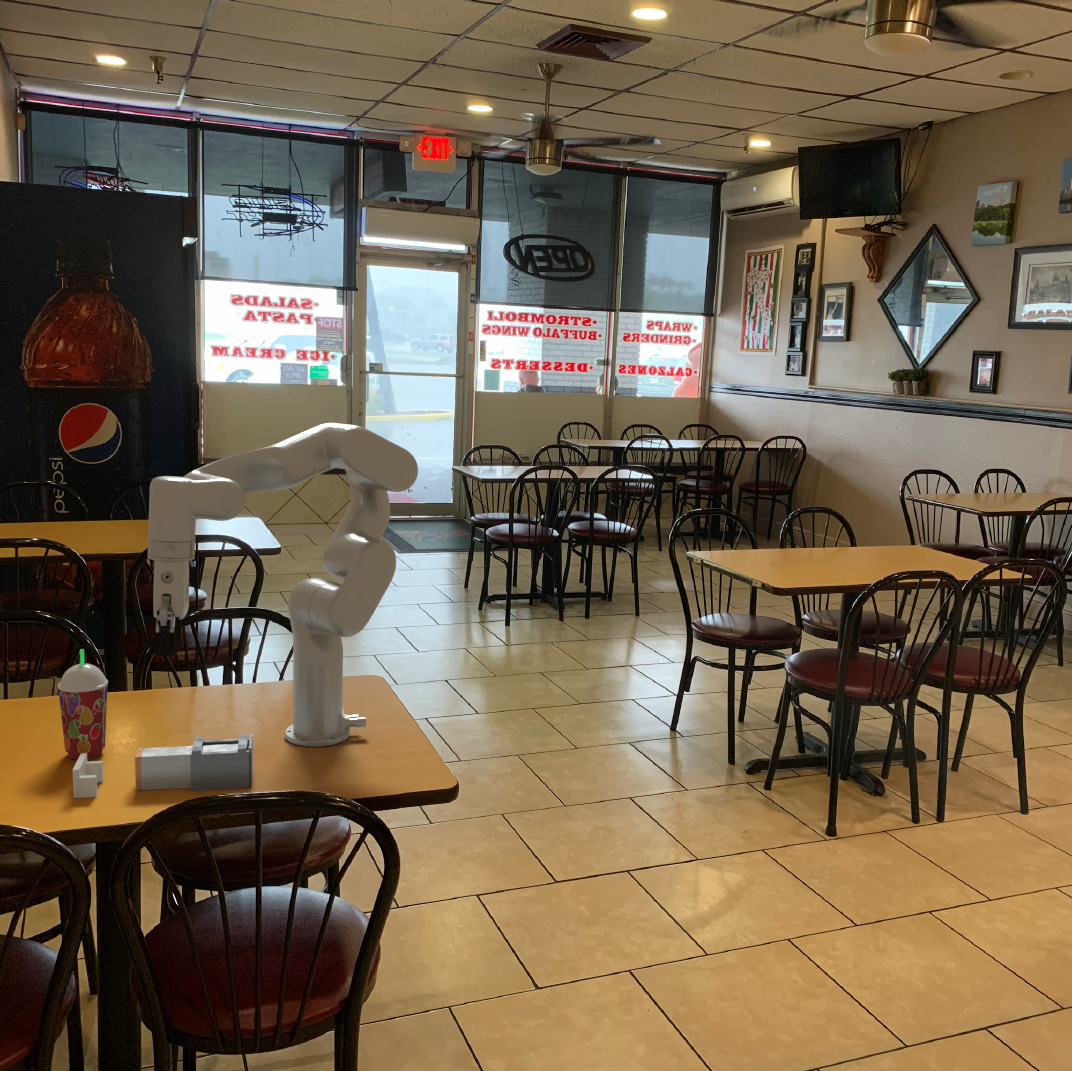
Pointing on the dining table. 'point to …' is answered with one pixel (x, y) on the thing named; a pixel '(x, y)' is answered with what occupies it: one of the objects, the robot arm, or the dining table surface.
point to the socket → (86, 777)
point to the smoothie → (83, 709)
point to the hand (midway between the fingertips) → (168, 648)
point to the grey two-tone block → (168, 766)
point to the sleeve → (222, 764)
